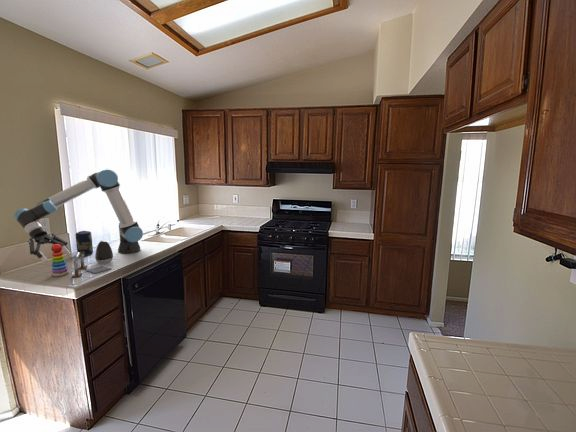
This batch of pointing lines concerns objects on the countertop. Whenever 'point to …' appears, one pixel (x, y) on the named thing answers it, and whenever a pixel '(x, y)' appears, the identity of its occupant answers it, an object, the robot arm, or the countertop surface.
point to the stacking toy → (58, 261)
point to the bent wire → (77, 265)
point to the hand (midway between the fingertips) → (58, 258)
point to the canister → (84, 242)
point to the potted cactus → (103, 253)
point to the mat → (98, 269)
